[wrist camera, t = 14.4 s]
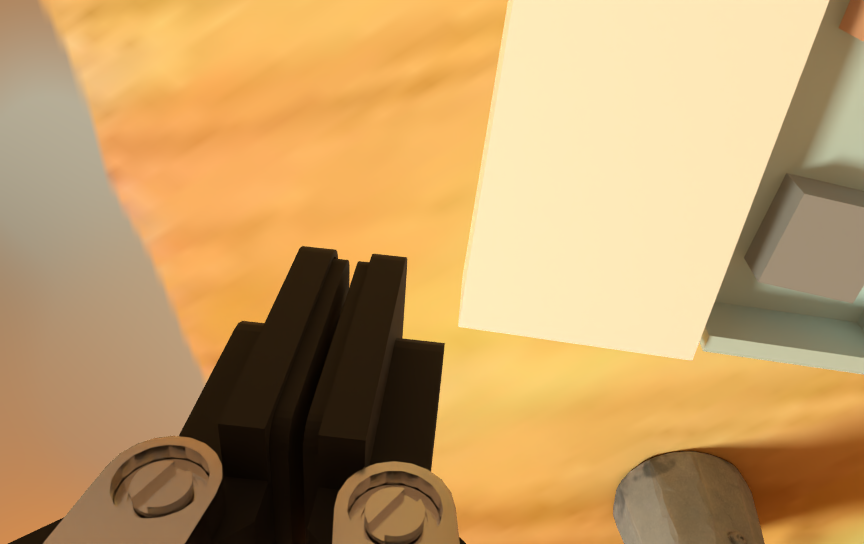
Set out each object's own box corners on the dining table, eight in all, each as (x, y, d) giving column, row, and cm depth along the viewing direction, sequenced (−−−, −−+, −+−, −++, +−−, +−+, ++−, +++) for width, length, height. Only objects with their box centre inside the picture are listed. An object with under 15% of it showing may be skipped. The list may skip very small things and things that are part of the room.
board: (556, -295, 28) (567, -319, 24) (865, -252, 28) (931, -269, 24) (462, 276, 42) (458, 326, 37) (672, 306, 41) (692, 360, 37)
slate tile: (905, 217, 34) (882, 195, 37) (804, 193, 34) (786, 172, 36) (852, 303, 37) (833, 278, 39) (758, 281, 37) (743, 257, 39)
